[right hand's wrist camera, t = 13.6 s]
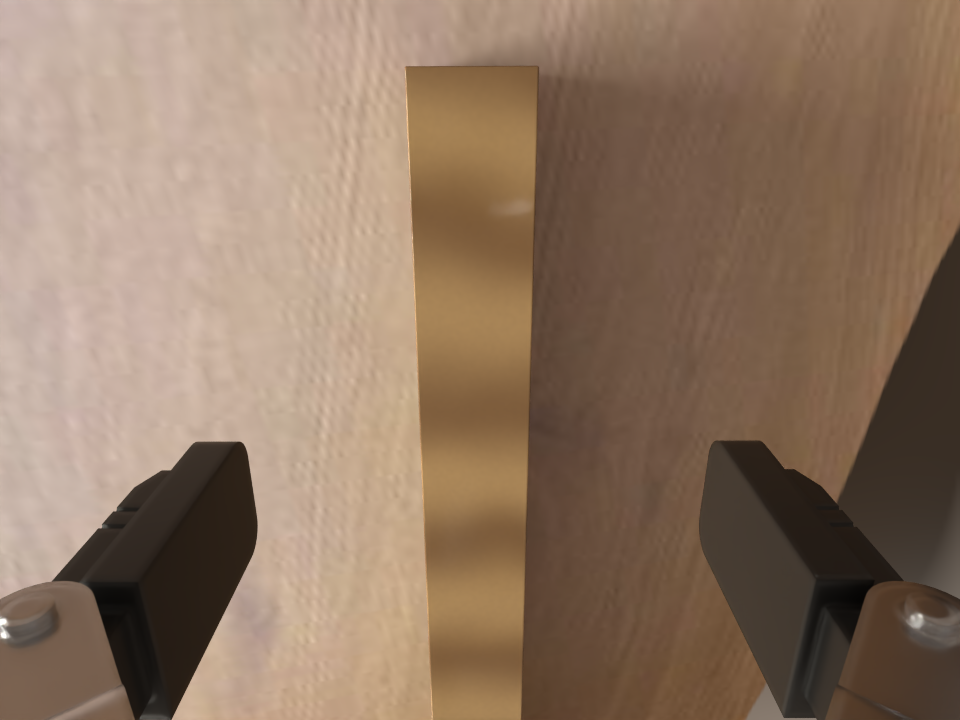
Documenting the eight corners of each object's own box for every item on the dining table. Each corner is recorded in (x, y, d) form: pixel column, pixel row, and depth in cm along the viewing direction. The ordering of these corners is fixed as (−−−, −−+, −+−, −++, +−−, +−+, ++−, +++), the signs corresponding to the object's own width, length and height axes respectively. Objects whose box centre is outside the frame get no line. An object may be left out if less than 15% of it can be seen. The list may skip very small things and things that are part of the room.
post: (423, 73, 32) (404, 66, 24) (524, 73, 32) (538, 65, 24) (448, 839, 53) (442, 972, 45) (509, 838, 53) (514, 972, 45)
